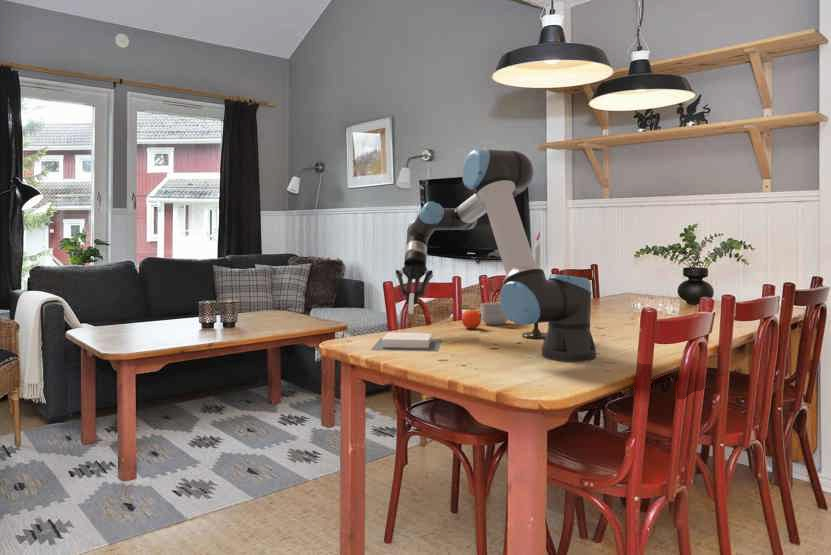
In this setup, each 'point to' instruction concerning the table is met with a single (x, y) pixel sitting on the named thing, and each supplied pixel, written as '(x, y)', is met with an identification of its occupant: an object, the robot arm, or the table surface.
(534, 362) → the table surface
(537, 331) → the candlestick
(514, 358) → the table surface
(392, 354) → the table surface
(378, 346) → the mat
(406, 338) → the tile
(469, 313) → the clementine
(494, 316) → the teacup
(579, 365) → the table surface
